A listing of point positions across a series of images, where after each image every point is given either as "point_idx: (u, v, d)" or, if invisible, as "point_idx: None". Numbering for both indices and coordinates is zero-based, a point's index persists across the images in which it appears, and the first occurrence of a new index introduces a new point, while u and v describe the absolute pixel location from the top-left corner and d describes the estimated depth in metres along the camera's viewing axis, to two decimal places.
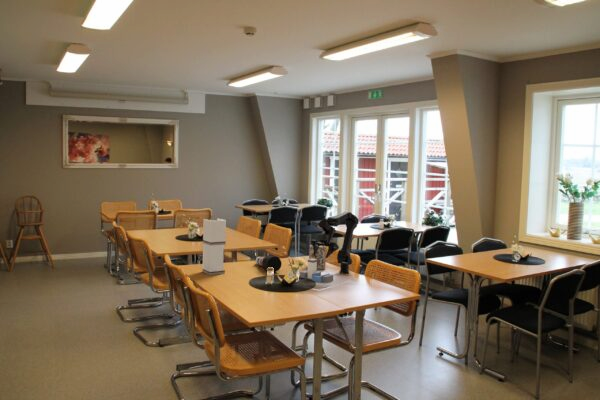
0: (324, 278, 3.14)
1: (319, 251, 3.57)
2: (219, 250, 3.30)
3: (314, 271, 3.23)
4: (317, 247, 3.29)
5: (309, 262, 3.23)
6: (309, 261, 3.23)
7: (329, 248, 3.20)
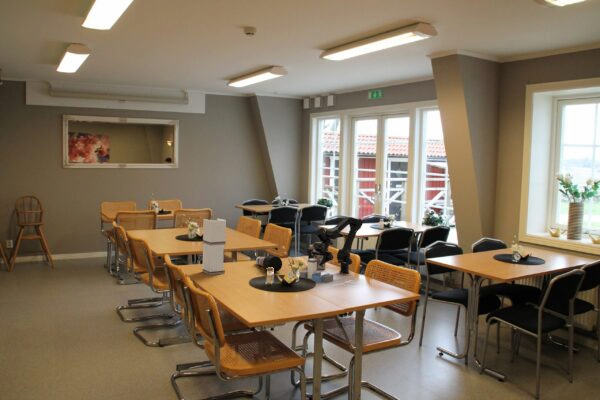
0: (324, 278, 3.14)
1: None
2: (219, 250, 3.30)
3: (314, 271, 3.23)
4: (312, 256, 3.32)
5: (309, 262, 3.23)
6: (309, 261, 3.23)
7: (324, 256, 3.24)
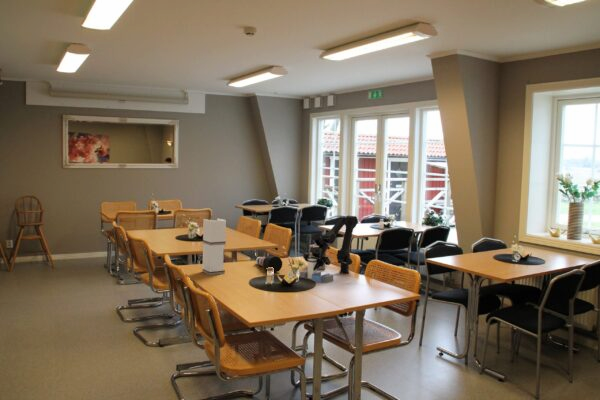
0: (324, 278, 3.14)
1: None
2: (219, 250, 3.30)
3: (314, 271, 3.23)
4: None
5: (309, 262, 3.23)
6: (309, 261, 3.23)
7: (318, 261, 3.23)
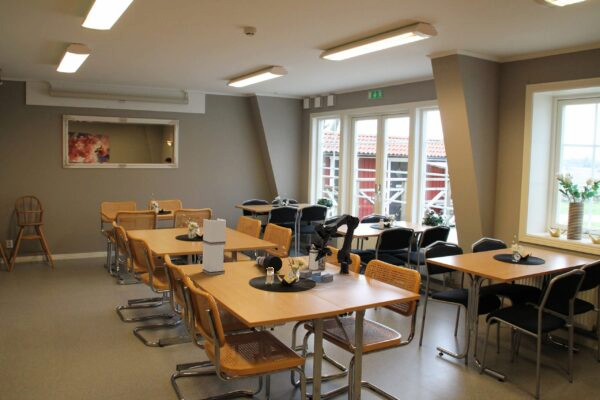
0: (324, 278, 3.14)
1: None
2: (219, 250, 3.30)
3: (316, 262, 3.22)
4: None
5: (310, 253, 3.22)
6: (311, 252, 3.22)
7: (319, 252, 3.22)
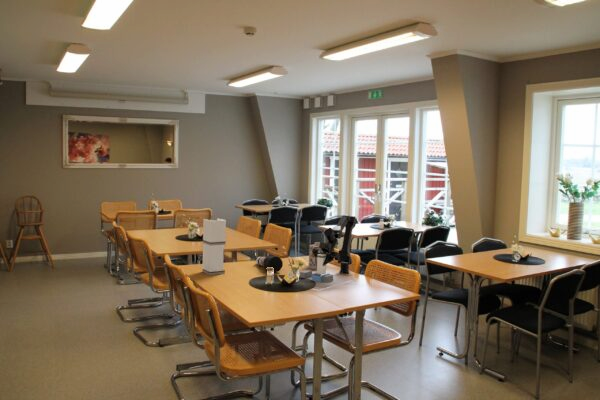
0: (324, 278, 3.14)
1: None
2: (219, 250, 3.30)
3: (323, 266, 3.18)
4: None
5: (318, 257, 3.18)
6: (318, 256, 3.18)
7: (327, 256, 3.18)
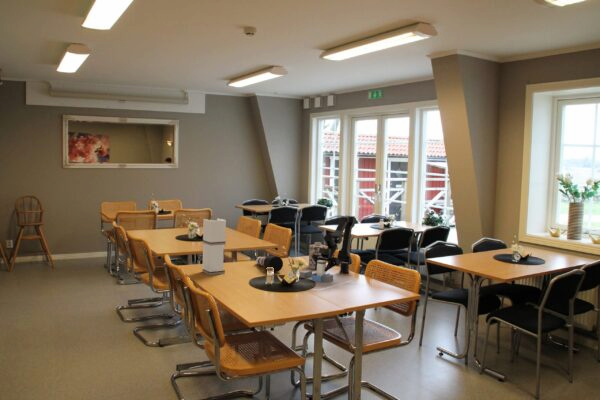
0: (324, 278, 3.14)
1: None
2: (219, 250, 3.30)
3: (323, 273, 3.19)
4: None
5: (318, 263, 3.19)
6: (318, 263, 3.18)
7: (329, 262, 3.18)
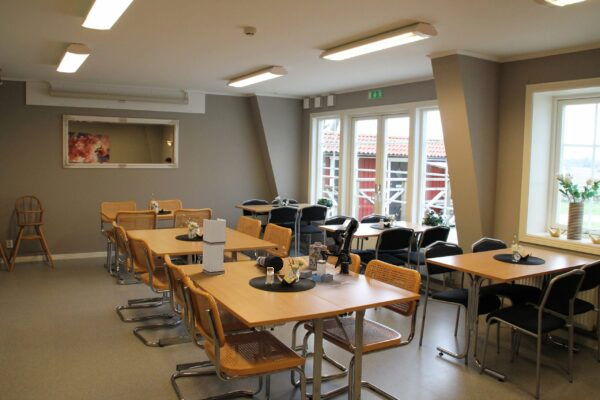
0: (324, 278, 3.14)
1: (319, 251, 3.57)
2: (219, 250, 3.30)
3: (323, 273, 3.19)
4: (326, 257, 3.33)
5: (318, 263, 3.19)
6: (318, 263, 3.18)
7: (338, 258, 3.24)
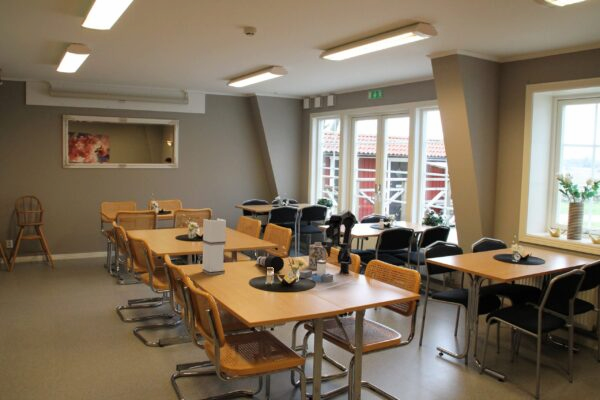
0: (324, 278, 3.14)
1: (319, 251, 3.57)
2: (219, 250, 3.30)
3: (323, 273, 3.19)
4: (329, 247, 3.35)
5: (318, 263, 3.19)
6: (318, 263, 3.18)
7: (341, 250, 3.26)
